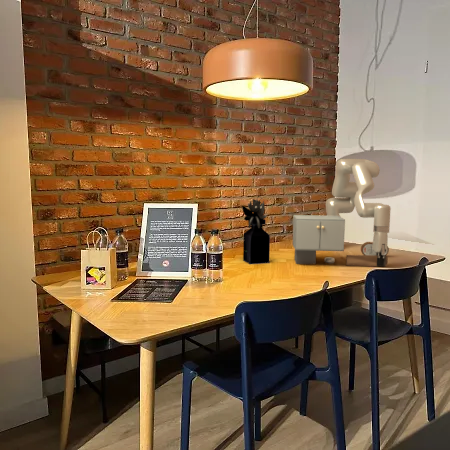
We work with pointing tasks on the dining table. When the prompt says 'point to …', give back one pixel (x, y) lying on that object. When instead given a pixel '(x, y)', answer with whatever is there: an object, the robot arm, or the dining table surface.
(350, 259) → the brown rectangular bar
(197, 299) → the dining table surface
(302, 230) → the cabinet
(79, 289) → the dining table surface
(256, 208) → the vase
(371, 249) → the tin
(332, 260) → the puck
